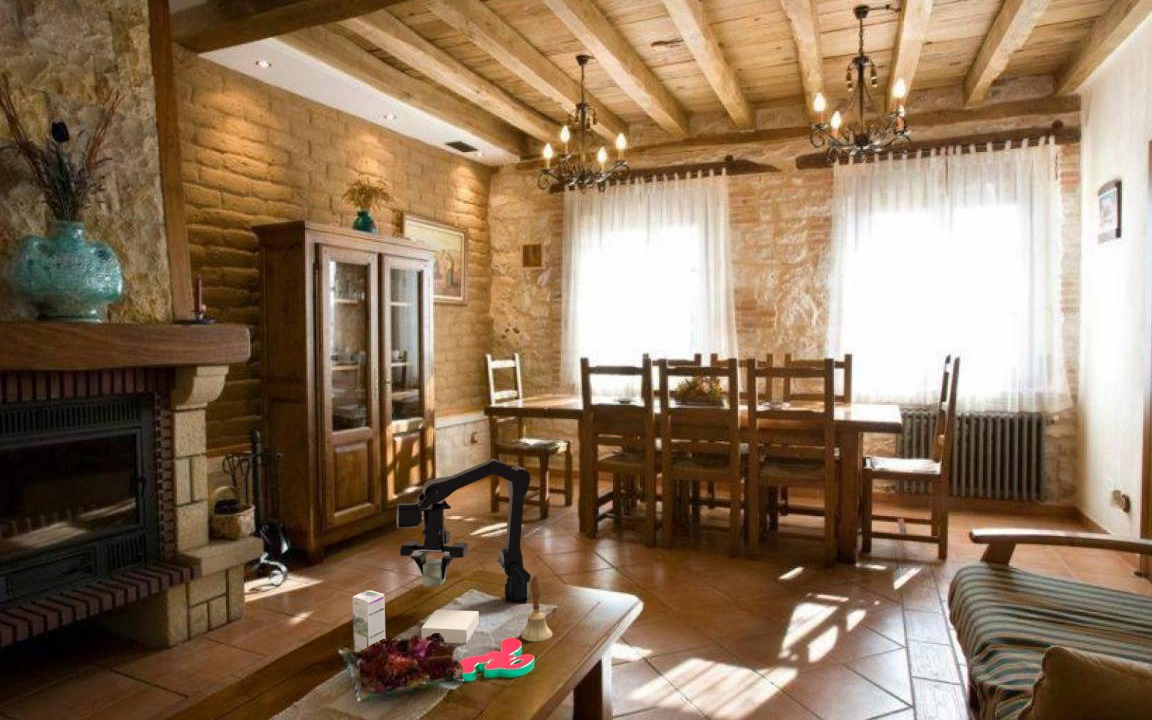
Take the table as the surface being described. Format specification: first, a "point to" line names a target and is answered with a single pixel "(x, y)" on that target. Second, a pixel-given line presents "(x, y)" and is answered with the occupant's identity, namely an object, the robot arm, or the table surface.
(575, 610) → the table surface
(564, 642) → the table surface
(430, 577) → the green block
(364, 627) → the syrup box
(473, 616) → the cream block
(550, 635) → the hand bell
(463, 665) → the squiggly shape
